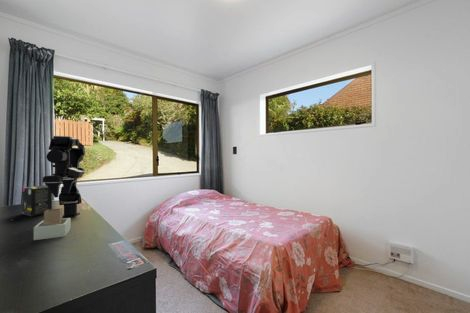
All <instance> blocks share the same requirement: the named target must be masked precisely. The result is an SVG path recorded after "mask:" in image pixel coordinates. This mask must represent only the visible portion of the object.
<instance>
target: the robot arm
mask: <svg viewBox="0 0 470 313" xmlns="http://www.w3.org/2000/svg"><path fill="white" fill-rule="evenodd" d="M48 150H49V152H47V154H46V157H45V158H46V160H47V161H48V162H50V163H51V164H52V165H51V167H52V168H54V172H53V173H52V174H51V175H50V174H49V175H45V176H43V177H42V178H41V179H42V183H44V185H45V186H48V188H49V189H50V191H51V192H52V195H53V197H54V198H58V203H59V206H63V214H62V218H71V217H72V218H74V217H77V216H78V215H80V214H81V212H78V205H80V204H83V203H82V202H83V201H82V200H83V199H82V196H81V193H80V191H79V189H78V188H77V183H78V179H81V178H83V176H84V174H85V170H84V167H80V163H81V162H82V161H83V160H84V158H85V157H84V156H86V148H85V145H84V144H83V143H81V141H80V139H79V138H77V137H76V138H73V137H71V136H70V135H67V136H66V135H64V136H63V135H53V137H52V138H51V139H50V142H49V146H48ZM61 185H62V187H61Z"/></svg>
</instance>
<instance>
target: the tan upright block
mask: <svg viewBox="0 0 470 313" xmlns="http://www.w3.org/2000/svg"><path fill="white" fill-rule="evenodd" d="M62 215H63V208H52V209H49V210H46V211H45V212H44V214H43V221H44V226H48V225H57V224H62V219H63V217H62Z"/></svg>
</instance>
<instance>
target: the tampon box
mask: <svg viewBox="0 0 470 313" xmlns="http://www.w3.org/2000/svg"><path fill="white" fill-rule="evenodd" d="M52 195H53V194H52V192H51V191H50V189H49V188H48V186H47V185H32V186H25V187H24V186H23V187H22V206H21V209H22V210H21V214H22V215H25V216H28V217H35V216H40V215H42V216H43V215H44V212H45V211H46V210H49V209H53V208H52V207H53V200H52V199H53V196H52Z"/></svg>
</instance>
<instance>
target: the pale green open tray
mask: <svg viewBox="0 0 470 313" xmlns="http://www.w3.org/2000/svg"><path fill="white" fill-rule="evenodd" d="M71 222H72V221H71V217H64V218H62V224H57V225H48V226H44V220H41V221H40V222H38V223H37V224H36V225H35V226H34V227H33V241H38V240H44V239H45V240H48V239H55V238H64V237H66V236H67V235H68V233H69V232H70V230H71V226H72V225H71Z"/></svg>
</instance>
